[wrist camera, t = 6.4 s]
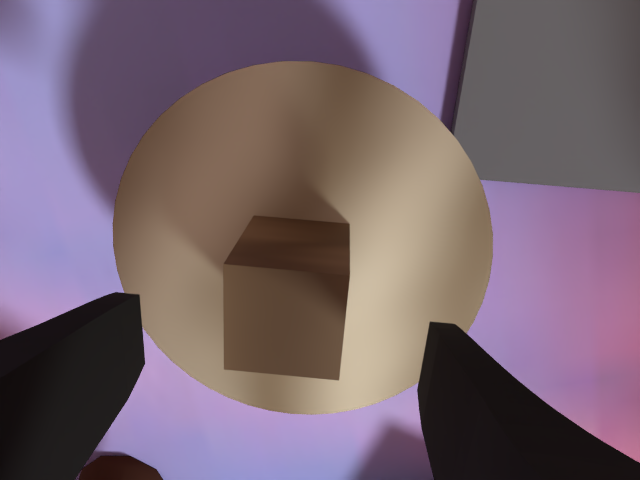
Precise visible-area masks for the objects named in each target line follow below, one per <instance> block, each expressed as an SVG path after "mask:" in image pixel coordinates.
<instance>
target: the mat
mask: <svg viewBox="0 0 640 480" xmlns="http://www.w3.org/2000/svg"><path fill="white" fill-rule="evenodd" d="M451 133H452V134H453V136H454V137H455V138H456V139H457V140H458V142H459V143H460V145H461V147H462V148H463V150H464V151H465V153H466V154H467V156H468V157H469V159H470V160H471V162H472V164H473V166H474V168H475V171H476V173H477V175H478V177H479V179H480V180H491V181H503V182H515V183H528V184H540V185H552V186H564V187H576V188H588V189H600V190H612V191H624V192H636V193H640V0H473V6H472V11H471V17H470V23H469V29H468V35H467V41H466V47H465V52H464V58H463V64H462V70H461V76H460V82H459V88H458V93H457V99H456V105H455V111H454V117H453V123H452V129H451Z"/></svg>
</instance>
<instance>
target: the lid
mask: <svg viewBox="0 0 640 480" xmlns="http://www.w3.org/2000/svg"><path fill="white" fill-rule="evenodd" d="M113 248H114V254H115V260H116V266H117V271H118V274H119V277H120V280H121V284H122V287H123V290H124V292H125V293H129V294H140V305H141V318H142V327H143V328H144V330H145V331H146V332H147V334H148V335H149V336H150V338H151V339H152V340H153V341H154V343H155V344H156V345H157V346H158V348H159V349H160V350H161V351H162V352H163V353H164V354H165V355H166V356H167V357H168V358H169V359H170V360H171V361H172V362H173V363H175V364H176V365H177V366H178V367H180V368H181V369H182V370H183V371H185V372H186V373H187V374H188V375H190V376H191V377H192V378H194V379H196V380H197V381H199V382H200V383H202V384H203V385H205V386H207V387H208V388H210V389H212V390H214V391H216V392H218V393H220V394H222V395H224V396H226V397H228V398H231V399H233V400H236V401H239V402H242V403H244V404H247V405H250V406H254V407H258V408H262V409H266V410H270V411H277V412H283V413H290V414H311V415H312V414H329V413H338V412H343V411H349V410H355V409H358V408H362V407H366V406H369V405H373V404H376V403H378V402H381V401H383V400H386V399H388V398H390V397H393V396H395V395H397V394H399V393H401V392H402V391H404V390H406V389H408V388H410V387H412V386H413V385H415V384H416V383H418V382H419V378H420V372H421V367H422V361H423V356H424V350H425V345H426V339H427V334H428V328H429V323H430V321H431V322H442V323H453V324H456V325H457V326H458V327H460V328H461V329H462V330H463V331H464V332H465V333H467V331H468V330H469V328H470V327H471V325H472V324H473V322H474V320H475V317H476V315H477V313H478V311H479V309H480V307H481V304H482V302H483V299H484V296H485V292H486V289H487V286H488V282H489V278H490V271H491V265H492V258H493V232H492V225H491V218H490V211H489V207H488V203H487V200H486V196H485V193H484V190H483V186H482V184H481V181H480V179H479V177H478V175H477V173H476V171H475V168H474V166H473V164H472V162H471V160H470V159H469V157H468V156H467V154H466V153H465V151H464V150H463V148H462V147H461V145H460V143H459V142H458V140H457V139H456V138H455V137H454V136H453V134H452V133H451V132H450V131H449V130H448V129H447V128H446V127H445V125H444V124H443V123H442V122H441V121H440V120H439V119H438V118H437V117H436V116H435V115H434V114H432V113H431V112H430V111H429V110H428V109H427V108H425V107H424V106H423V105H422V104H421V103H420V102H418V101H417V100H415V99H414V98H412V97H411V96H409V95H408V94H406V93H404V92H403V91H401V90H400V89H398V88H397V87H395V86H393V85H391V84H389V83H387V82H385V81H382V80H380V79H378V78H376V77H374V76H371V75H369V74H367V73H364V72H361V71H357V70H354V69H350V68H347V67H344V66H340V65H333V64H326V63H320V62H313V61H280V62H273V63H266V64H258V65H253V66H249V67H246V68H242V69H239V70H235V71H232V72H228V73H226V74H223V75H221V76H219V77H217V78H215V79H212V80H210V81H208V82H206V83H203V84H202V85H200V86H198V87H197V88H195V89H194V90H192V91H191V92H189V93H188V94H186V95H184V96H183V97H181V98H180V99H179V100H177V101H176V102H175V103H174V104H173V105H172V106H171V107H169V108H168V109H167V110H166V111H165V112H164V113H163V114H161V115H160V116H159V118H158V119H157V120H156V121H155V122H154V123H153V125H152V126H151V127H150V128H149V129H148V131H147V132H146V133H145V134H144V135H143V137H142V139H141V140H140V142H139V144H138V145H137V147H136V148H135V150H134V152H133V153H132V155H131V157H130V159H129V161H128V164H127V166H126V168H125V171H124V173H123V175H122V178H121V181H120V185H119V189H118V193H117V197H116V200H115V208H114V217H113Z"/></svg>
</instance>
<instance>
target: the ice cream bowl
mask: <svg viewBox="0 0 640 480" xmlns="http://www.w3.org/2000/svg"><path fill="white" fill-rule="evenodd" d="M79 480H163V479H162V478H161V476H160V474H159V473H158V471H157V470H156V469H154V468H152V467H150V466H148V465H146V464H144V463H142V462H140V461H138V460H136V459H134V458H132V457H130V456H100V457H99V458H97V459H96V460H94V461H93V462H91V463H90V464H89V465H87V466H86V467H84V468H83V469H82V470H81V474H80V478H79Z"/></svg>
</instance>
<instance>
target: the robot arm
mask: <svg viewBox="0 0 640 480" xmlns="http://www.w3.org/2000/svg"><path fill="white" fill-rule="evenodd" d="M144 365H145V357H144V344H143V331H142V318H141V305H140V294H129V293H118V292H115V293H112V294H109V295H106V296H103V297H101V298H98V299H96V300H93V301H91V302H89V303H86V304H84V305H82V306H79V307H77V308H75V309H73V310H70V311H68V312H66V313H64V314H61V315H59V316H57V317H55V318H52V319H50V320H48V321H46V322H43V323H41V324H39V325H36V326H34V327H31V328H29V329H26V330H24V331H22V332H19V333H17V334H14V335H12V336H9V337H7V338H4V339H2V340H0V480H75V478H76V477H77V475H78V474H79V472H80V471H81V469H82V468H83V466H84V465H85V463H86V462H87V460H88V459H89V457H90V456H91V454H92V453H93V451H94V450H95V448H96V447H97V445H98V444H99V442H100V441H101V439H102V438H103V436H104V435H105V434H106V432H107V431H108V429H109V428H110V426H111V424H112V423H113V421H114V420H115V418H116V417H117V415H118V414H119V412H120V411H121V409H122V408H123V406H124V405H125V403H126V401H127V400H128V398H129V396H130V394H131V392H132V390H133V388H134V386H135V384H136V382H137V380H138V378H139V376H140V373H141V371H142V369H143V367H144ZM417 391H418V401H419V411H420V419H421V427H422V432H423V436H424V440H425V444H426V448H427V452H428V457H429V461H430V465H431V469H432V473H433V477H434V480H640V463H639V462H637V461H635V460H633V459H632V458H630V457H628V456H627V455H625V454H623V453H621V452H620V451H618V450H616V449H615V448H613V447H611V446H610V445H608V444H606V443H604V442H603V441H601V440H600V439H598V438H596V437H595V436H593V435H592V434H590V433H589V432H587V431H585V430H584V429H582V428H581V427H580V426H578V425H577V424H575V423H574V422H572V421H571V420H569V419H568V418H566V417H565V416H564V415H562V414H561V413H559V412H558V411H556V410H555V409H554V408H552V407H551V406H550V405H548V404H547V403H545V402H544V401H543V400H542V399H540V398H539V397H538V396H537V395H535V394H534V393H533V392H532V391H530V390H529V389H528V388H527V387H525V386H524V385H523V384H522V383H520V382H519V381H518V380H517V379H516V378H514V377H513V376H512V375H511V374H510V373H509V372H508V371H506V370H505V369H504V368H503V367H502V366H501V365H500V364H499V363H497V362H496V361H495V360H494V359H493V358H492V357H491V356H490V355H489V354H488V353H486V352H485V351H484V350H483V349H482V348H481V347H480V346H479V345H478V344H477V343H476V342H475V341H474V340H473V339H472V338H471V337H469V336H468V335H467V334H466V333H465V332H464V331H463V330H462V329H461V328H460V327H458V326H457V325H456V324H453V323H442V322H431V321H430V323H429V328H428V334H427V339H426V345H425V350H424V356H423V361H422V367H421V372H420V378H419V384H418V389H417Z"/></svg>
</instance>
